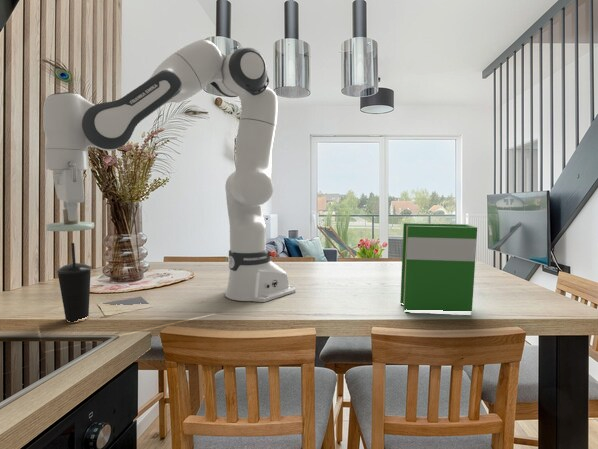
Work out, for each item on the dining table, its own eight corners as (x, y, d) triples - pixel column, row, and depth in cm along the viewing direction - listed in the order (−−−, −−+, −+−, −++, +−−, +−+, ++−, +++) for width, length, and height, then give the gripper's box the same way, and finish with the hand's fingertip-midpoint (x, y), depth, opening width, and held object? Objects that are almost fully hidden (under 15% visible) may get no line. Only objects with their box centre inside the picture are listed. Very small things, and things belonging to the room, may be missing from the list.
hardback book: (404, 313, 103) (408, 226, 100) (400, 304, 110) (403, 223, 108) (471, 316, 101) (477, 227, 98) (462, 307, 108) (468, 224, 106)
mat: (141, 298, 114) (141, 296, 114) (153, 309, 105) (153, 307, 104) (96, 305, 107) (96, 304, 107) (105, 318, 97) (105, 316, 97)
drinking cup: (79, 328, 91) (74, 246, 88) (52, 325, 92) (46, 245, 90) (101, 317, 98) (97, 241, 96) (76, 314, 100) (71, 240, 97)
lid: (90, 225, 99) (89, 207, 99) (98, 229, 92) (97, 210, 91) (45, 227, 93) (43, 209, 93) (48, 232, 85) (47, 211, 85)
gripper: (90, 161, 84) (93, 222, 86) (76, 164, 100) (79, 215, 102) (56, 160, 80) (60, 224, 82) (48, 163, 97) (52, 217, 98)
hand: (71, 219), depth 92 cm, fingers closed on lid, 3 cm apart
